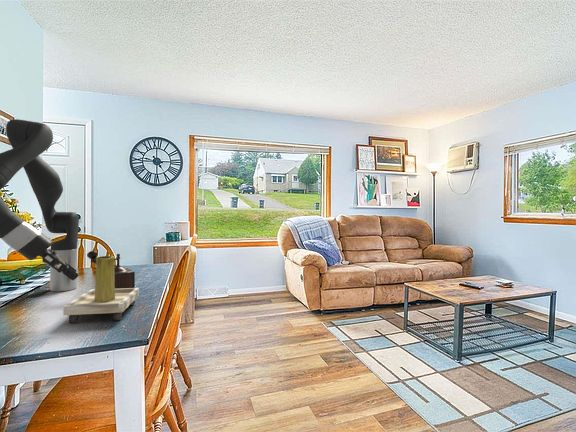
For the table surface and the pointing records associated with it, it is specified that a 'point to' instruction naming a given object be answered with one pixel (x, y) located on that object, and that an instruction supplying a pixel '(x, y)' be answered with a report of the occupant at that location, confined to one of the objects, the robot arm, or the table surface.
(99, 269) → the vase
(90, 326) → the table surface
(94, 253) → the coffee grinder
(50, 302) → the table surface
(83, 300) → the caster dolly
